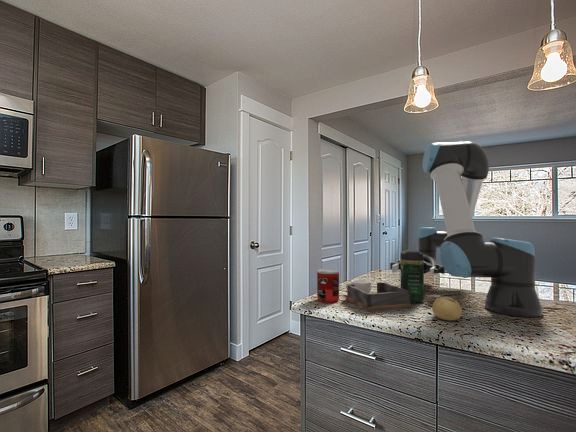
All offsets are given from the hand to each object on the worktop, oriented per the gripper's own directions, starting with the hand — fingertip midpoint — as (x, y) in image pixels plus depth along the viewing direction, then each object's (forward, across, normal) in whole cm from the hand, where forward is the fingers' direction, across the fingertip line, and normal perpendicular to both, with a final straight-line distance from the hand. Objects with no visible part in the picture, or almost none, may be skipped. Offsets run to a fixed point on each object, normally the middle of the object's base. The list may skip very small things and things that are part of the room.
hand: (411, 270), depth 115 cm
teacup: (+5, +19, -11) cm, 22 cm away
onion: (+18, -14, -11) cm, 26 cm away
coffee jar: (+2, 0, -11) cm, 11 cm away
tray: (+14, +9, -10) cm, 19 cm away
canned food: (+20, +25, -11) cm, 33 cm away
